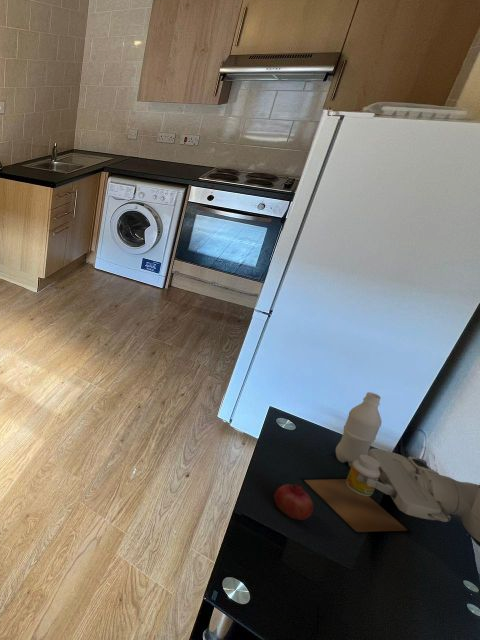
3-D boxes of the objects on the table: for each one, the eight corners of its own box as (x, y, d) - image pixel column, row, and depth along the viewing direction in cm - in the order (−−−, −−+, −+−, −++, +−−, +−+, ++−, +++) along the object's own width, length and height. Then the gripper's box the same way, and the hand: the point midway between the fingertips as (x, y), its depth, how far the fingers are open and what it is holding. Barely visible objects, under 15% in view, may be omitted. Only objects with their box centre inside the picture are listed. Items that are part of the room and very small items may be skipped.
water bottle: (331, 450, 132) (355, 385, 124) (361, 460, 128) (387, 394, 120) (334, 464, 126) (359, 396, 119) (365, 475, 122) (393, 406, 115)
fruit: (299, 533, 104) (310, 503, 101) (265, 508, 111) (274, 479, 108) (314, 519, 108) (324, 490, 105) (280, 496, 114) (289, 468, 112)
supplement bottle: (346, 476, 114) (356, 449, 111) (372, 488, 110) (384, 460, 107) (344, 488, 110) (355, 459, 107) (371, 500, 106) (383, 471, 104)
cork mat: (406, 532, 105) (407, 529, 105) (355, 534, 104) (356, 531, 104) (348, 481, 120) (349, 478, 120) (303, 482, 119) (304, 479, 119)
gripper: (450, 534, 95) (374, 511, 101) (405, 471, 113) (342, 455, 118) (461, 514, 93) (382, 491, 99) (413, 453, 111) (349, 437, 117)
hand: (360, 471), depth 109 cm, fingers closed on supplement bottle, 5 cm apart
